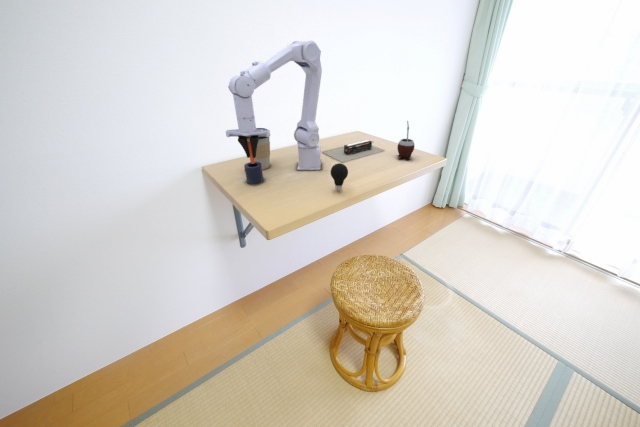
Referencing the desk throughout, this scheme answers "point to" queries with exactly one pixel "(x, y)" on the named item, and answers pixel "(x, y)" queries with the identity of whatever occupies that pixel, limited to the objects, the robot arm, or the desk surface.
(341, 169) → the light bulb
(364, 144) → the model train on plate
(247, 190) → the desk surface
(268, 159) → the coffee cup
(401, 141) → the mate gourd
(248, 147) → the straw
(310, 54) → the robot arm
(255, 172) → the navy hollow cylinder
